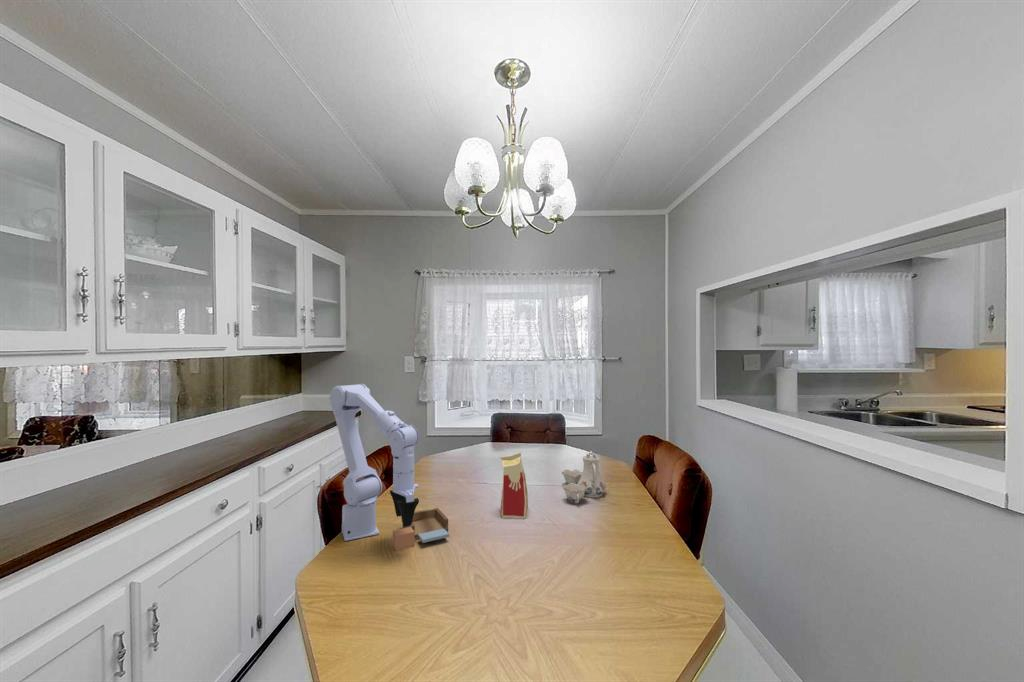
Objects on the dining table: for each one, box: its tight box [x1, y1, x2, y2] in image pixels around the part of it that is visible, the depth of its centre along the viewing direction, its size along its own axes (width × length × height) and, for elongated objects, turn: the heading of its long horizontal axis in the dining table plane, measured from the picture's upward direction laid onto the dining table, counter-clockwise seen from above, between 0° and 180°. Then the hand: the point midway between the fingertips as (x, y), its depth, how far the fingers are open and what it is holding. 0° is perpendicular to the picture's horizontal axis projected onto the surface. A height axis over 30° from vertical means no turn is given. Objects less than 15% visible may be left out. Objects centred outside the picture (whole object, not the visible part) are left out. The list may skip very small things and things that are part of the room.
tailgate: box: [418, 529, 450, 544], centre depth 114 cm, size 8×1×5 cm
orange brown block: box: [392, 527, 416, 551], centre depth 112 cm, size 5×4×4 cm
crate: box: [402, 507, 449, 541], centre depth 121 cm, size 11×11×4 cm
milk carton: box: [499, 451, 529, 520], centre depth 134 cm, size 9×9×20 cm
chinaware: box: [561, 450, 607, 504], centre depth 153 cm, size 28×17×17 cm, turn 179°
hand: (403, 520), depth 112 cm, fingers open, 7 cm apart
